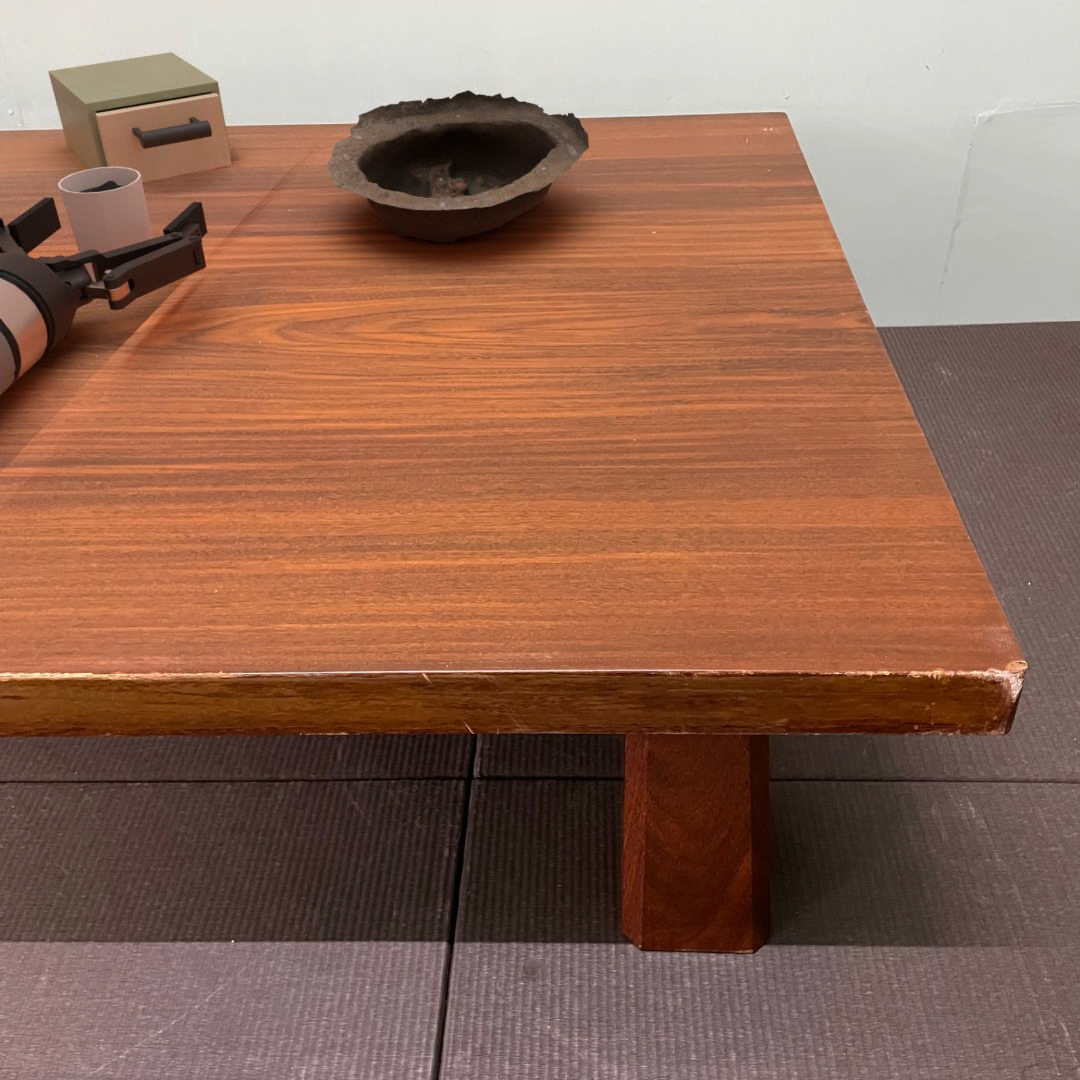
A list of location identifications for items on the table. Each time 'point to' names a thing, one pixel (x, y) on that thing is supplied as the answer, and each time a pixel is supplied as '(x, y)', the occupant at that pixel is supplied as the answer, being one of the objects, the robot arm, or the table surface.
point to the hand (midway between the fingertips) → (126, 214)
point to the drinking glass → (105, 209)
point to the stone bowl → (455, 162)
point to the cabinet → (119, 94)
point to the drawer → (166, 136)
